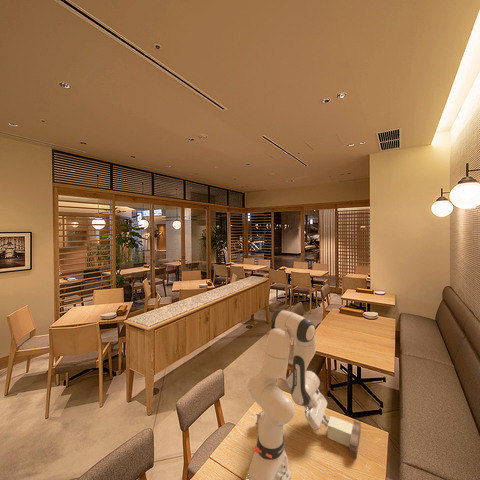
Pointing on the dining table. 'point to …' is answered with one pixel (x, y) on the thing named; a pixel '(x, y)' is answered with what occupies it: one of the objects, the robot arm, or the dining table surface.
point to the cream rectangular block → (339, 431)
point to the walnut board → (355, 438)
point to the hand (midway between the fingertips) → (328, 424)
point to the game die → (259, 416)
